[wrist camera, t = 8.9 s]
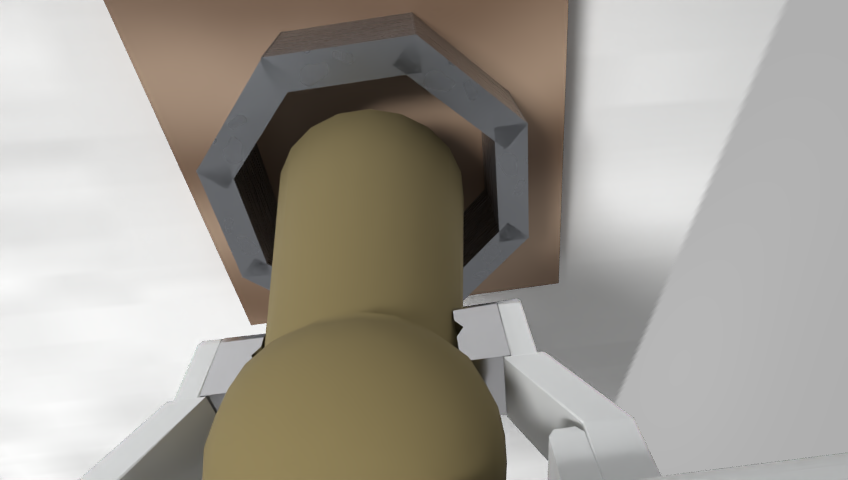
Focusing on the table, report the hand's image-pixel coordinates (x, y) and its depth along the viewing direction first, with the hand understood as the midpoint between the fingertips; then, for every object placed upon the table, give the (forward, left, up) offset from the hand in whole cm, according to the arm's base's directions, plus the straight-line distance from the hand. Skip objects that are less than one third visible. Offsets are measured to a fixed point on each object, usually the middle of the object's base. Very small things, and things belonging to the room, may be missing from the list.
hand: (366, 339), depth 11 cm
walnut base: (0, 0, -10) cm, 10 cm away
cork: (0, 0, -6) cm, 7 cm away
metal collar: (0, 0, -9) cm, 9 cm away
